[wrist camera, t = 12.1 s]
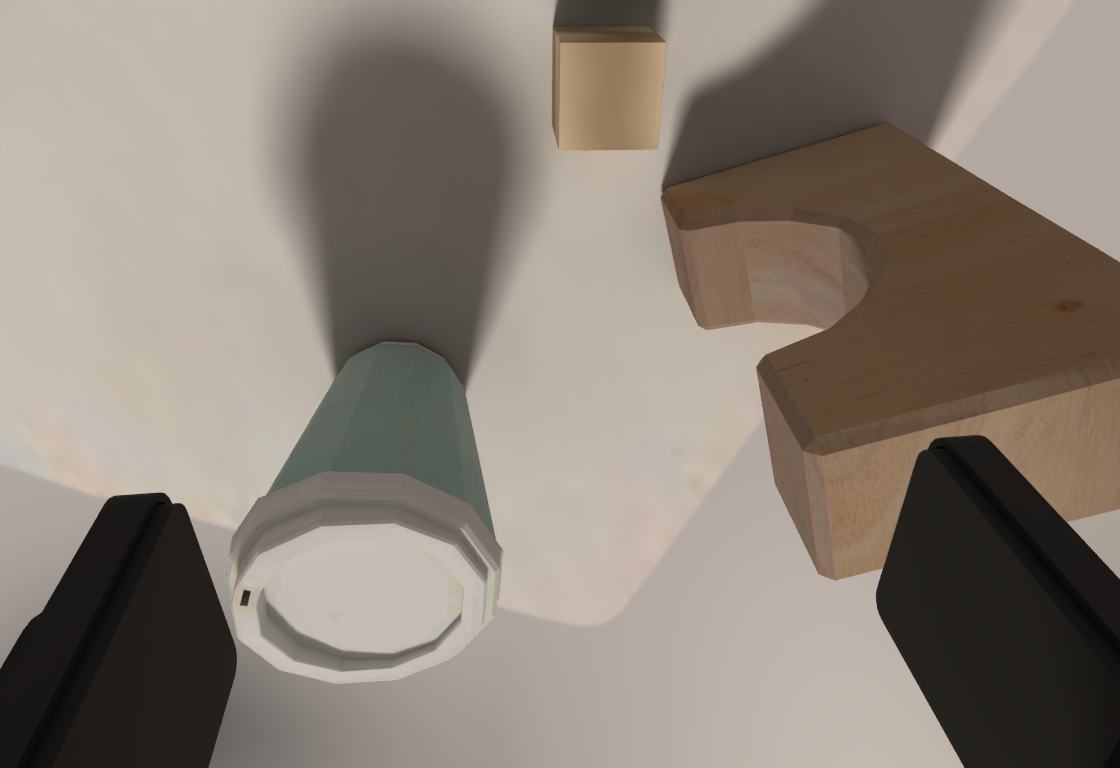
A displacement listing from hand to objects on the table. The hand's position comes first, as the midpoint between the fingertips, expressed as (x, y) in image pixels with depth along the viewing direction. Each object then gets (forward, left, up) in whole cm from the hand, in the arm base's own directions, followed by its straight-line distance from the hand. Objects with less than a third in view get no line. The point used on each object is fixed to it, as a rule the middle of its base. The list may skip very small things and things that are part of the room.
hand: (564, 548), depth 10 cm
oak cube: (+4, 0, -28) cm, 28 cm away
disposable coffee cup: (-6, -16, -28) cm, 33 cm away
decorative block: (+13, -6, -28) cm, 31 cm away
